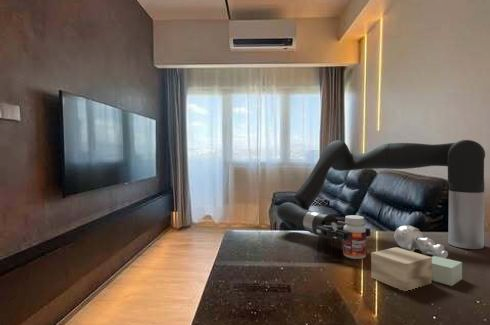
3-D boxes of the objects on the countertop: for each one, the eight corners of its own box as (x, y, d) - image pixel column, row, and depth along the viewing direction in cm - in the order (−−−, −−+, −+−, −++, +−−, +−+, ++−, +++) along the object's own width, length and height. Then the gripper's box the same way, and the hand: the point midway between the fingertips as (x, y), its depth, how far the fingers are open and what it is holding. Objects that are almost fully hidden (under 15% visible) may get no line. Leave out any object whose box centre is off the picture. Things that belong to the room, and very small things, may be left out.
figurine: (441, 233, 85) (398, 213, 99) (423, 253, 85) (382, 230, 99) (457, 256, 89) (414, 233, 103) (439, 275, 89) (398, 250, 102)
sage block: (433, 271, 79) (434, 255, 79) (461, 279, 75) (461, 262, 75) (423, 277, 76) (423, 261, 76) (451, 285, 71) (451, 268, 71)
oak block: (396, 270, 80) (396, 247, 80) (431, 283, 72) (431, 257, 72) (371, 277, 76) (371, 252, 76) (405, 292, 68) (406, 264, 68)
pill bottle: (353, 260, 88) (353, 219, 88) (338, 254, 94) (338, 215, 94) (370, 257, 91) (370, 217, 90) (355, 251, 96) (355, 214, 96)
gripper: (302, 214, 101) (340, 224, 87) (336, 210, 108) (376, 218, 94) (302, 238, 102) (340, 251, 87) (336, 232, 108) (376, 244, 94)
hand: (359, 234), depth 91 cm, fingers open, 8 cm apart
